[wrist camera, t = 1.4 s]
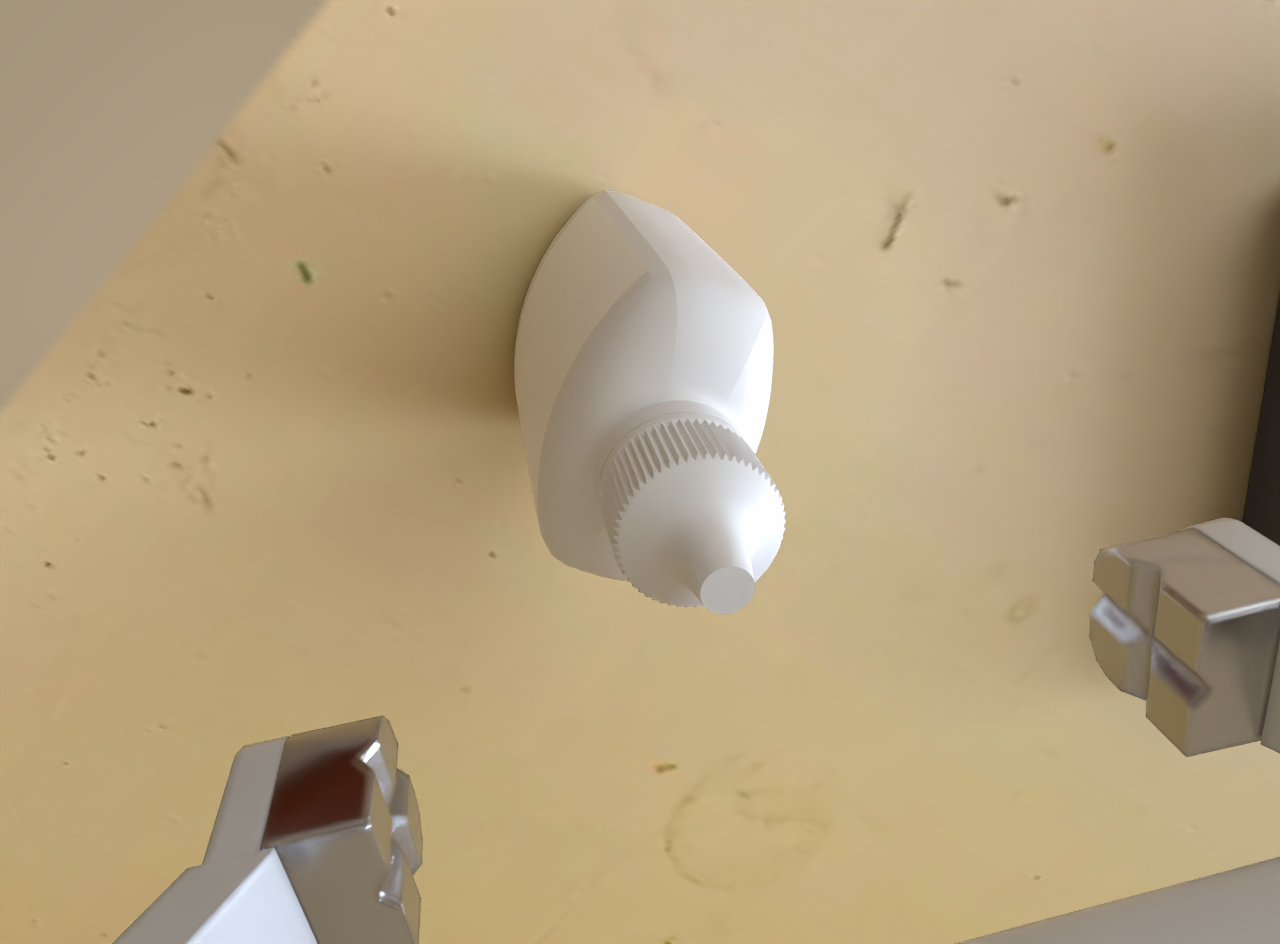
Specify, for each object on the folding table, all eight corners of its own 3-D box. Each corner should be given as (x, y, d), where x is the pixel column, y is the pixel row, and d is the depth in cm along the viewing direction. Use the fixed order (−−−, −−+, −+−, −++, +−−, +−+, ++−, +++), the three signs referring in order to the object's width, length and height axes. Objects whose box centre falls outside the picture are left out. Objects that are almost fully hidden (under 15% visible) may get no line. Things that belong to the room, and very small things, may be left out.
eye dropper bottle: (441, 321, 22) (432, 623, 11) (630, 156, 21) (815, 314, 10) (565, 449, 24) (658, 808, 13) (743, 302, 23) (996, 560, 12)
